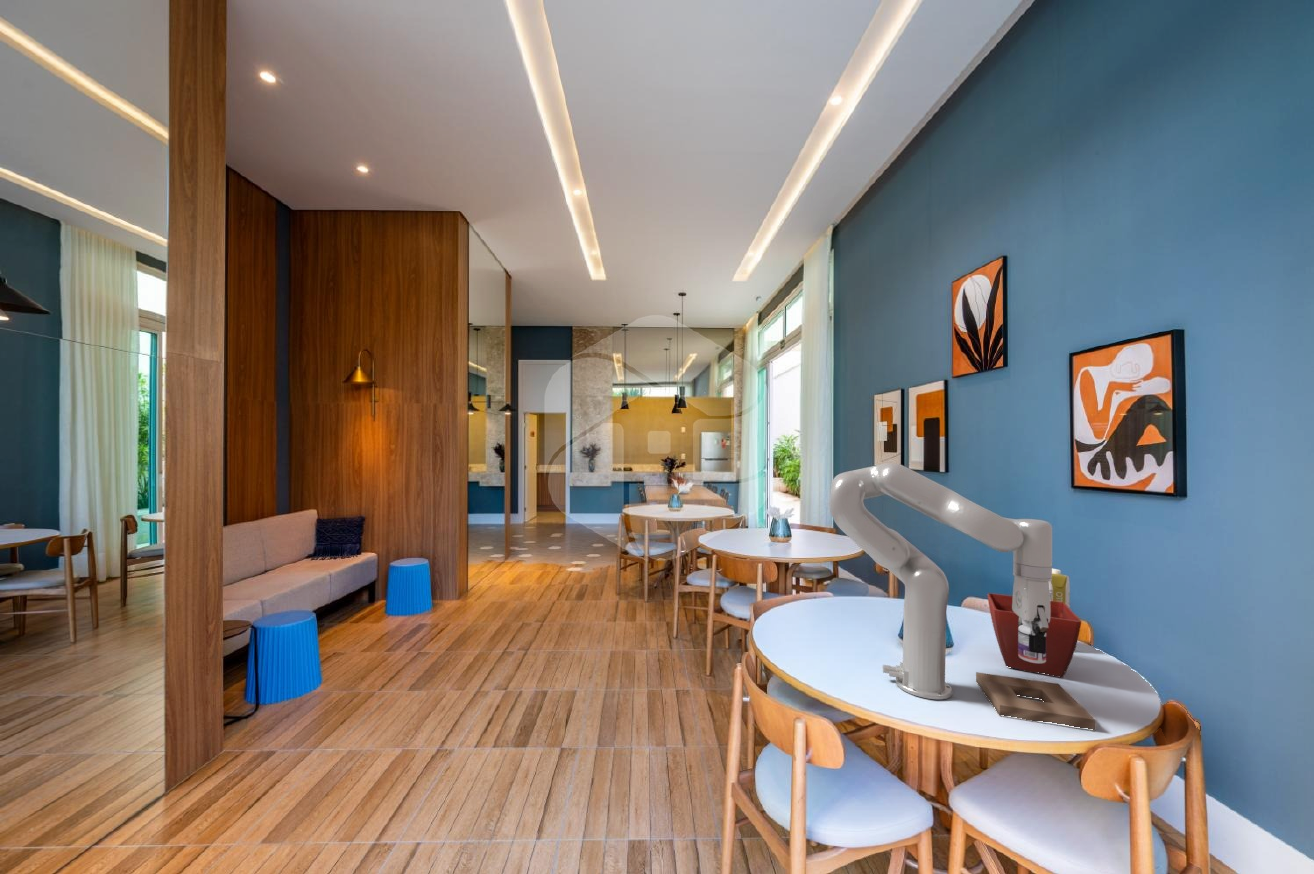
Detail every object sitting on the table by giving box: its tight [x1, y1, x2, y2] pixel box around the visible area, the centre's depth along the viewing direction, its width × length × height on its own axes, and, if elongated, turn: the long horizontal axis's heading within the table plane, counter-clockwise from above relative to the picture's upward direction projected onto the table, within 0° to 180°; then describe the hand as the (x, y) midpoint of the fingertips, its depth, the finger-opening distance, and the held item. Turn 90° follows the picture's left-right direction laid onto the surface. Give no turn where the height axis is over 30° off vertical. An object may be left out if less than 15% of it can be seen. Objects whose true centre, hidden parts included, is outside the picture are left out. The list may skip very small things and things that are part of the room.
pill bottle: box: [1018, 619, 1046, 663], centre depth 122 cm, size 5×5×10 cm
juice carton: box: [1048, 567, 1071, 608], centre depth 160 cm, size 9×8×24 cm
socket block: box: [975, 671, 1097, 732], centre depth 122 cm, size 18×18×2 cm
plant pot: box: [987, 592, 1082, 678], centre depth 145 cm, size 19×19×17 cm
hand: (1031, 646), depth 122 cm, fingers closed on pill bottle, 5 cm apart
